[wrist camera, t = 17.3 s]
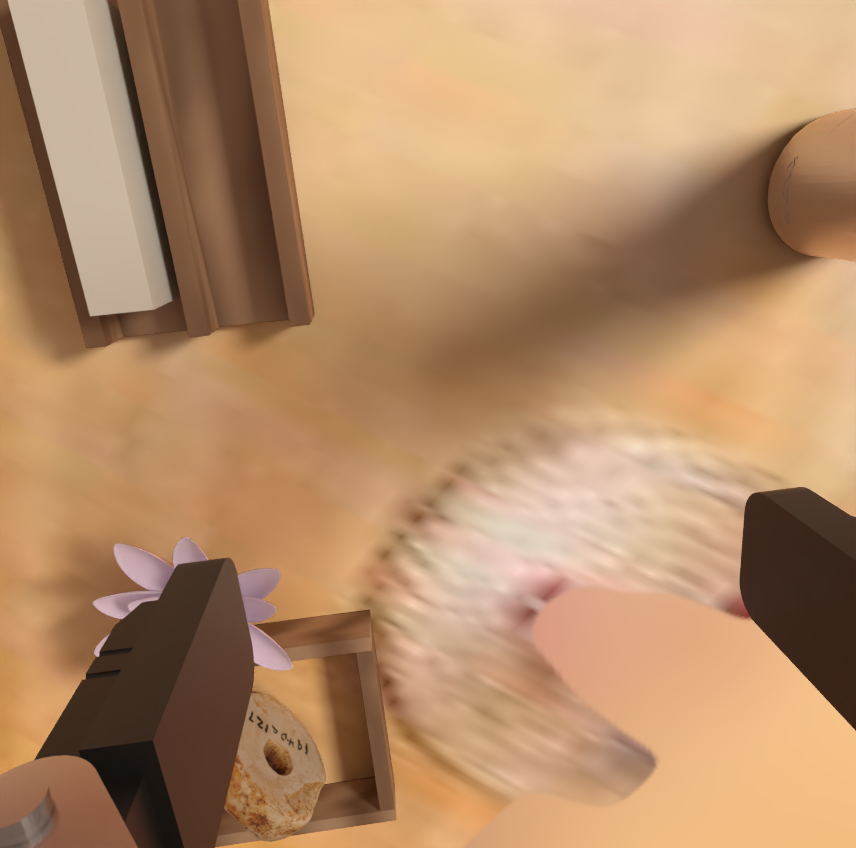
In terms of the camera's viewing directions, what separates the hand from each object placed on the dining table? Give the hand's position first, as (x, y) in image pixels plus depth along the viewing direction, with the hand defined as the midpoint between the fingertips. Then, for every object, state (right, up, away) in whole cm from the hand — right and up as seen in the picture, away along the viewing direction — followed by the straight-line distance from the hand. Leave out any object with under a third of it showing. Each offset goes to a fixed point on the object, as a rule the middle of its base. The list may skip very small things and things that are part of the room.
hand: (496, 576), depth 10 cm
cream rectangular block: (-19, +18, +29) cm, 39 cm away
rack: (-16, +18, +31) cm, 39 cm away
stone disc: (-14, -22, +45) cm, 52 cm away
